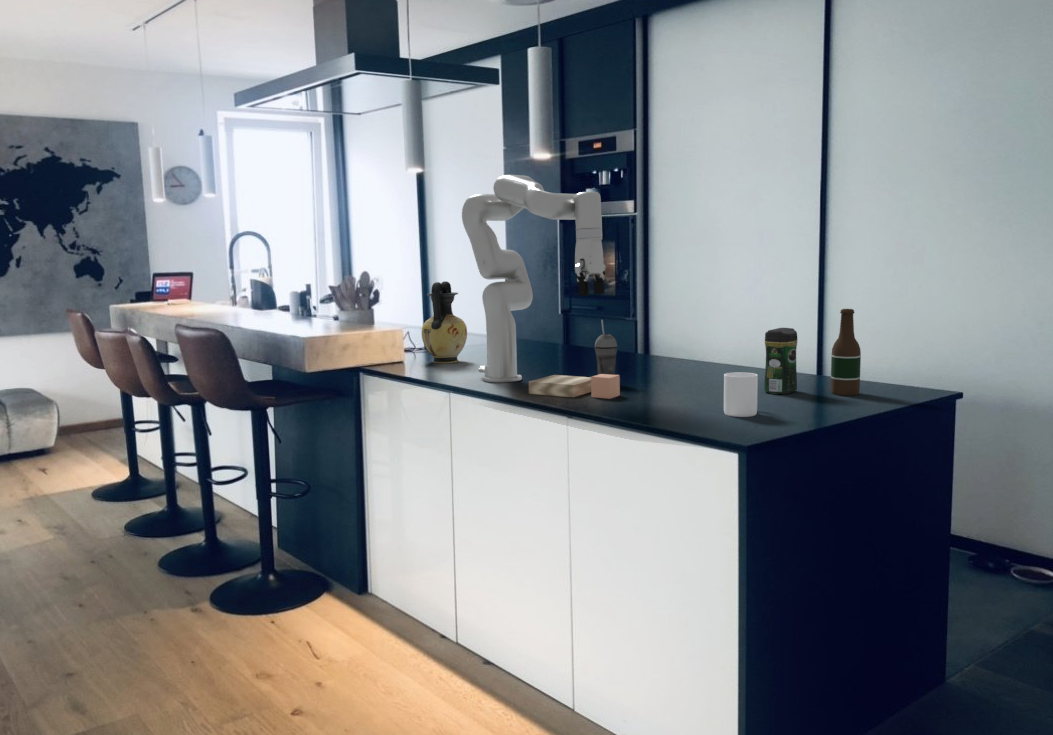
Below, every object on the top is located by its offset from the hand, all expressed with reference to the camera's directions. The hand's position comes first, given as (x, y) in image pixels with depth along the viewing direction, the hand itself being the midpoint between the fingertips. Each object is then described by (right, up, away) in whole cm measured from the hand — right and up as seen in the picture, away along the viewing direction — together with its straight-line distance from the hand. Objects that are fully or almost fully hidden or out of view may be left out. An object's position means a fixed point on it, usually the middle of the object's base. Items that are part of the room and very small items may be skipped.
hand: (591, 294), depth 269 cm
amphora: (-49, -19, +77) cm, 94 cm away
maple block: (-8, -29, +6) cm, 30 cm away
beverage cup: (+6, -27, +18) cm, 33 cm away
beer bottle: (+71, -29, -7) cm, 77 cm away
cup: (+37, -33, -32) cm, 59 cm away
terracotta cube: (+4, -30, -4) cm, 30 cm away
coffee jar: (+54, -28, -2) cm, 61 cm away
